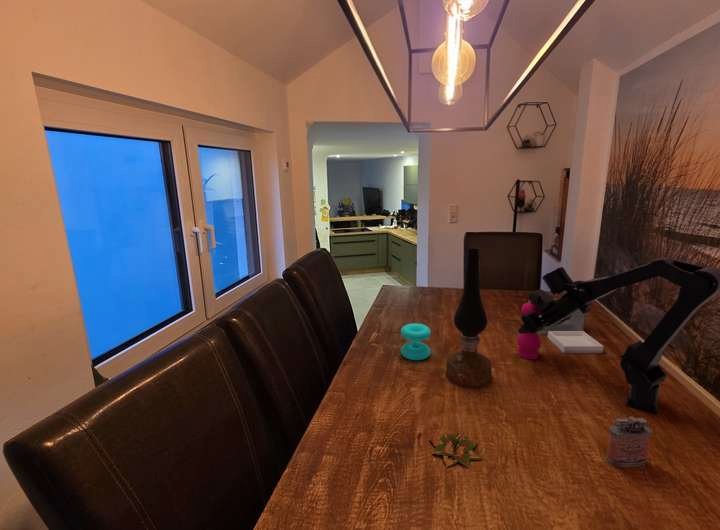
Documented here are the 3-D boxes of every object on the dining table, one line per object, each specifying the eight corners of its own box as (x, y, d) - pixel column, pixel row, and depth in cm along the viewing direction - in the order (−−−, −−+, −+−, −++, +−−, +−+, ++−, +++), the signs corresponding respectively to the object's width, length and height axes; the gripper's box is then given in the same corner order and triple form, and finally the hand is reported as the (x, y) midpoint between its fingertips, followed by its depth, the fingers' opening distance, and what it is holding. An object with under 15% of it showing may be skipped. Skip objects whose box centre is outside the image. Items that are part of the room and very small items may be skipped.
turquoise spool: (434, 332, 120) (403, 334, 119) (433, 360, 122) (404, 362, 122) (426, 321, 130) (398, 323, 129) (426, 347, 132) (398, 349, 131)
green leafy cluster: (442, 478, 75) (442, 459, 74) (419, 439, 86) (419, 422, 85) (494, 466, 78) (495, 447, 77) (465, 429, 89) (466, 413, 88)
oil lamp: (461, 371, 122) (453, 250, 122) (505, 379, 111) (497, 247, 111) (436, 382, 113) (428, 251, 112) (482, 393, 101) (473, 248, 101)
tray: (602, 353, 124) (603, 346, 123) (564, 353, 125) (564, 346, 124) (582, 337, 136) (583, 331, 136) (547, 337, 137) (548, 331, 136)
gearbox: (582, 333, 140) (586, 300, 137) (539, 333, 140) (541, 301, 138) (566, 321, 151) (570, 291, 148) (526, 322, 152) (529, 291, 149)
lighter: (638, 453, 79) (645, 412, 77) (650, 465, 76) (658, 423, 74) (601, 455, 79) (607, 414, 77) (612, 467, 76) (618, 425, 74)
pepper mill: (542, 361, 120) (547, 302, 115) (518, 359, 121) (522, 301, 117) (536, 351, 127) (541, 295, 122) (514, 349, 128) (518, 294, 124)
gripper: (565, 279, 119) (531, 302, 131) (528, 289, 110) (496, 313, 121) (587, 309, 114) (550, 330, 126) (551, 322, 105) (515, 344, 117)
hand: (528, 328), depth 123 cm, fingers open, 9 cm apart
